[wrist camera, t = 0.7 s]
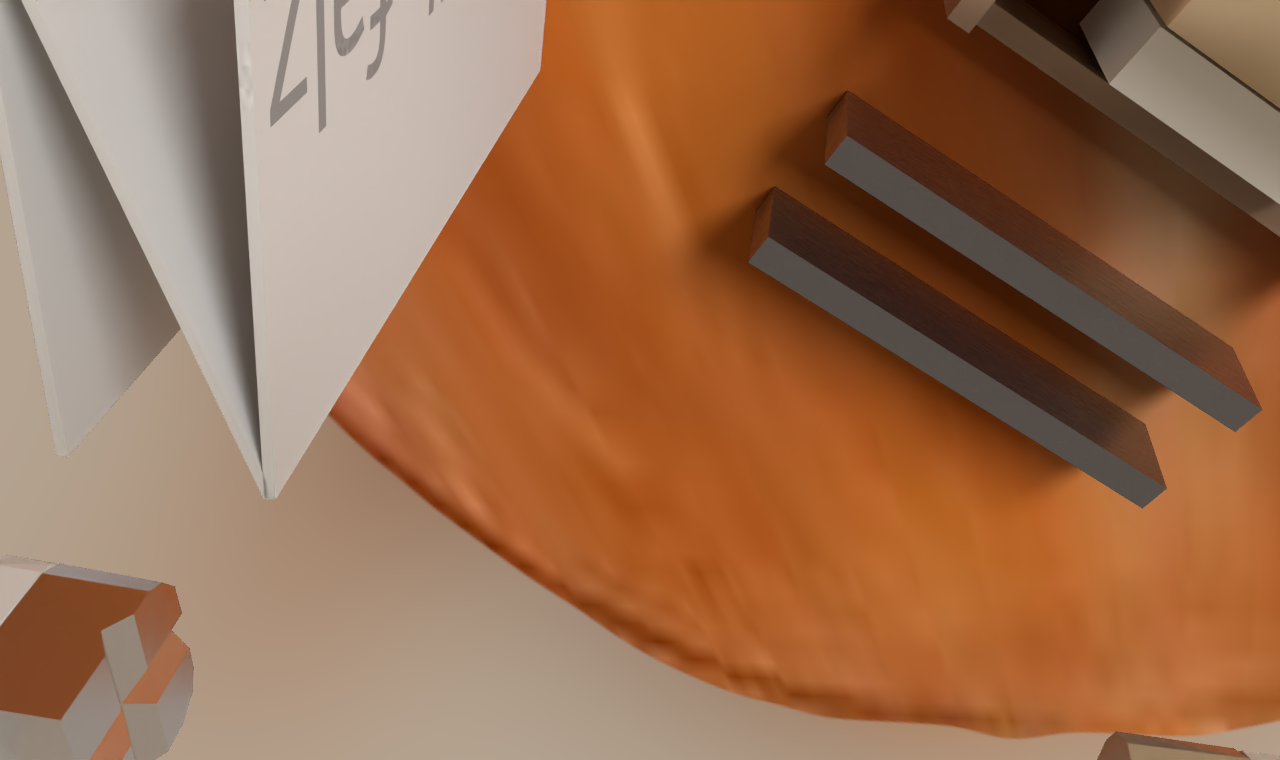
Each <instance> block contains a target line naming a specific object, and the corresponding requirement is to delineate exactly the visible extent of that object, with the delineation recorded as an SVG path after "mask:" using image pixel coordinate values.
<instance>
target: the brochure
mask: <svg viewBox="0 0 1280 760" xmlns="http://www.w3.org/2000/svg"><path fill="white" fill-rule="evenodd" d="M545 11H546V0H0V157H1V162H2V167H3V173H4V177H5V183H6V189H7V194H8V200H9V204H10V210H11V216H12V221H13V227H14V231H15V237H16V242H17V248H18V253H19V259H20V264H21V269H22V274H23V280H24V285H25V291H26V296H27V302H28V307H29V312H30V318H31V323H32V328H33V334H34V339H35V345H36V350H37V355H38V361H39V366H40V372H41V377H42V382H43V388H44V393H45V398H46V404H47V409H48V415H49V420H50V425H51V431H52V436H53V441H54V447H55V452H56V455H57V456H62V457H68V456H69V455H70V454H71V453H72V452H73V451H74V449H75V448H76V447H77V446H78V445H79V444H80V443H81V441H82V440H83V439H84V438H85V437H86V436H87V435H88V433H89V432H90V431H91V430H92V429H93V428H94V427H95V425H96V424H97V423H98V422H99V421H100V420H101V419H102V418H103V416H104V415H105V414H106V413H107V412H108V411H109V410H110V408H111V407H112V406H113V405H114V404H115V403H116V402H117V400H118V399H119V398H120V397H121V396H122V395H123V394H124V392H125V391H126V390H127V389H128V388H129V387H130V386H131V384H132V383H133V382H134V381H135V380H136V379H137V378H138V376H139V375H140V374H141V373H142V372H143V371H144V370H145V369H146V367H147V366H148V365H149V364H150V363H151V362H152V361H153V359H154V358H155V357H156V356H157V355H158V354H159V353H160V351H161V350H162V349H163V348H164V347H165V346H166V345H167V343H168V342H169V341H170V340H171V339H172V338H173V337H174V335H175V334H176V333H177V332H178V331H179V330H180V329H181V330H182V332H183V334H184V336H185V338H186V340H187V342H188V344H189V346H190V348H191V350H192V352H193V354H194V356H195V358H196V361H197V363H198V365H199V367H200V369H201V371H202V373H203V375H204V377H205V379H206V381H207V383H208V385H209V387H210V389H211V391H212V393H213V395H214V397H215V400H216V402H217V404H218V406H219V408H220V410H221V412H222V414H223V416H224V418H225V420H226V422H227V424H228V426H229V428H230V430H231V432H232V434H233V437H234V439H235V441H236V443H237V445H238V447H239V449H240V451H241V453H242V455H243V457H244V459H245V461H246V463H247V465H248V467H249V469H250V471H251V473H252V476H253V478H254V480H255V482H256V484H257V486H258V488H259V490H260V492H261V494H262V496H263V498H264V499H276V498H277V496H278V495H279V493H280V492H281V490H282V488H283V487H284V485H285V483H286V482H287V480H288V479H289V477H290V475H291V474H292V472H293V470H294V469H295V467H296V465H297V464H298V462H299V461H300V459H301V457H302V456H303V454H304V452H305V451H306V449H307V448H308V446H309V444H310V443H311V441H312V439H313V438H314V436H315V435H316V433H317V431H318V430H319V428H320V427H321V425H322V423H323V422H324V420H325V418H326V417H327V415H328V414H329V412H330V410H331V409H332V407H333V406H334V404H335V402H336V401H337V399H338V397H339V396H340V394H341V393H342V391H343V389H344V388H345V386H346V384H347V383H348V381H349V380H350V378H351V376H352V375H353V373H354V371H355V370H356V368H357V367H358V365H359V363H360V362H361V360H362V358H363V357H364V355H365V354H366V352H367V350H368V349H369V347H370V345H371V344H372V342H373V341H374V339H375V337H376V336H377V334H378V333H379V331H380V329H381V328H382V326H383V324H384V323H385V321H386V320H387V318H388V316H389V315H390V313H391V311H392V310H393V308H394V307H395V305H396V303H397V302H398V300H399V298H400V297H401V295H402V294H403V292H404V290H405V289H406V287H407V285H408V284H409V282H410V281H411V279H412V277H413V276H414V274H415V272H416V271H417V269H418V268H419V266H420V264H421V263H422V261H423V259H424V258H425V256H426V255H427V253H428V251H429V250H430V248H431V247H432V245H433V243H434V242H435V240H436V238H437V237H438V235H439V234H440V232H441V230H442V229H443V227H444V225H445V224H446V222H447V221H448V219H449V217H450V216H451V214H452V212H453V211H454V209H455V208H456V206H457V204H458V203H459V201H460V199H461V198H462V196H463V195H464V193H465V191H466V190H467V188H468V186H469V185H470V183H471V182H472V180H473V178H474V177H475V175H476V173H477V172H478V170H479V169H480V167H481V165H482V164H483V162H484V161H485V159H486V157H487V156H488V154H489V152H490V151H491V149H492V148H493V146H494V144H495V143H496V141H497V139H498V138H499V136H500V135H501V133H502V131H503V130H504V128H505V126H506V125H507V123H508V122H509V120H510V118H511V117H512V115H513V113H514V112H515V110H516V109H517V107H518V105H519V104H520V102H521V100H522V99H523V97H524V96H525V94H526V92H527V91H528V89H529V88H530V86H531V84H532V83H533V81H534V79H535V78H536V76H537V75H538V73H539V71H540V68H541V57H542V45H543V34H544V22H545Z"/></svg>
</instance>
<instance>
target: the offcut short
mask: <svg viewBox="0 0 1280 760" xmlns="http://www.w3.org/2000/svg"><path fill="white" fill-rule="evenodd" d="M1079 24H1080V26H1081V28H1082V30H1083V32H1084V34H1085V36H1086V38H1087V40H1088V42H1089V44H1090V46H1091V49H1092V51H1093V53H1094V55H1095V57H1096V59H1097V61H1098V63H1099V65H1100V67H1101V69H1102V71H1103V73H1104V75H1105V77H1106V79H1107V81H1108V83H1109V84H1110V85H1111V86H1113V87H1114V88H1115V89H1117V90H1118V91H1120V92H1121V93H1123V94H1124V95H1125V96H1127V97H1128V98H1130V99H1131V100H1132V101H1134V102H1135V103H1137V104H1138V105H1140V106H1141V107H1142V108H1144V109H1145V110H1147V111H1148V112H1150V113H1151V114H1152V115H1154V116H1155V117H1157V118H1158V119H1159V120H1161V121H1162V122H1164V123H1165V124H1167V125H1168V126H1169V127H1171V128H1172V129H1174V130H1175V131H1176V132H1178V133H1179V134H1181V135H1182V136H1184V137H1185V138H1186V139H1188V140H1189V141H1191V142H1192V143H1193V144H1195V145H1196V146H1198V147H1199V148H1201V149H1202V150H1203V151H1205V152H1206V153H1208V154H1209V155H1211V156H1212V157H1213V158H1215V159H1216V160H1218V161H1219V162H1220V163H1222V164H1223V165H1225V166H1226V167H1228V168H1229V169H1230V170H1232V171H1233V172H1235V173H1236V174H1237V175H1239V176H1240V177H1242V178H1243V179H1245V180H1246V181H1247V182H1249V183H1250V184H1252V185H1253V186H1255V187H1256V188H1257V189H1259V190H1260V191H1262V192H1263V193H1264V194H1266V195H1267V196H1269V197H1270V198H1272V199H1273V200H1274V201H1276V202H1277V203H1279V204H1280V108H1279V107H1277V106H1276V105H1274V104H1273V103H1272V102H1270V101H1269V100H1268V99H1266V98H1265V97H1263V96H1262V95H1261V94H1259V93H1258V92H1257V91H1255V90H1254V89H1252V88H1251V87H1250V86H1248V85H1247V84H1245V83H1244V82H1243V81H1241V80H1240V79H1239V78H1237V77H1236V76H1234V75H1233V74H1232V73H1230V72H1229V71H1228V70H1226V69H1225V68H1223V67H1222V66H1221V65H1219V64H1218V63H1217V62H1215V61H1214V60H1212V59H1211V58H1210V57H1208V56H1207V55H1205V54H1204V53H1203V52H1201V51H1200V50H1199V49H1197V48H1196V47H1194V46H1193V45H1192V44H1190V43H1189V42H1188V41H1186V40H1185V39H1183V38H1182V37H1181V36H1179V35H1178V34H1177V33H1175V32H1174V31H1172V30H1171V29H1170V28H1168V27H1167V26H1166V24H1165V23H1164V21H1163V20H1162V18H1161V17H1160V15H1159V14H1158V12H1157V11H1156V9H1155V8H1154V6H1153V5H1152V3H1151V2H1150V0H1099V1H1098V3H1097V4H1096V5H1095V6H1094V7H1093V8H1092V9H1091V11H1090V12H1089V13H1088V14H1087V15H1086V16H1085V18H1084V19H1083V20H1082V21H1081V22H1080V23H1079Z"/></svg>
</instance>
